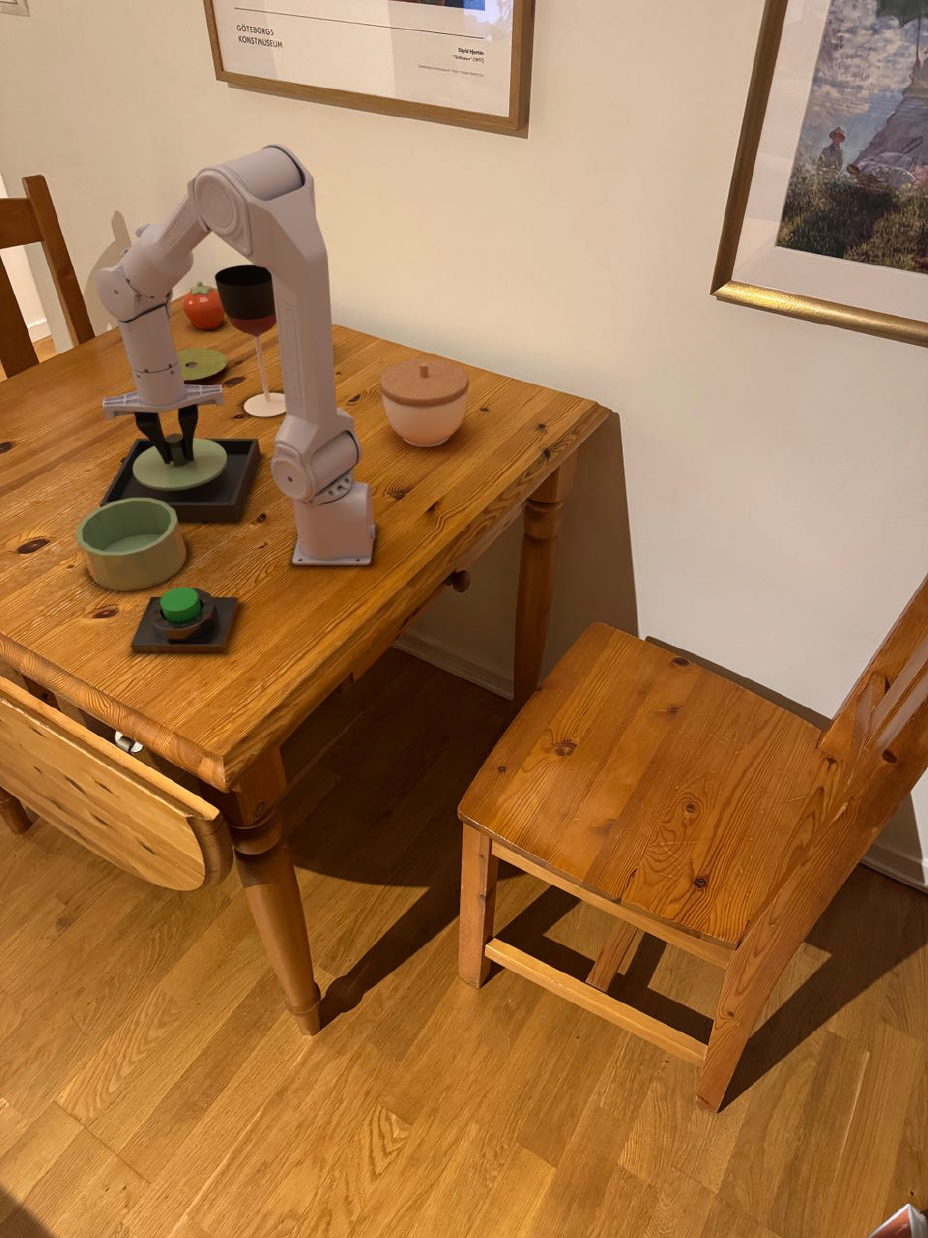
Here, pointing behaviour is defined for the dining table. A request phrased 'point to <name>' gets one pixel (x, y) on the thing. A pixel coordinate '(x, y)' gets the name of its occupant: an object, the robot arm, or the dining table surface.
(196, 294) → the tomato
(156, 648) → the panel
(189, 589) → the button
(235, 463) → the tray
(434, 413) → the lidded bowl
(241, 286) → the wineglass
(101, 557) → the pot
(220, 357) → the mat
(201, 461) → the lid
